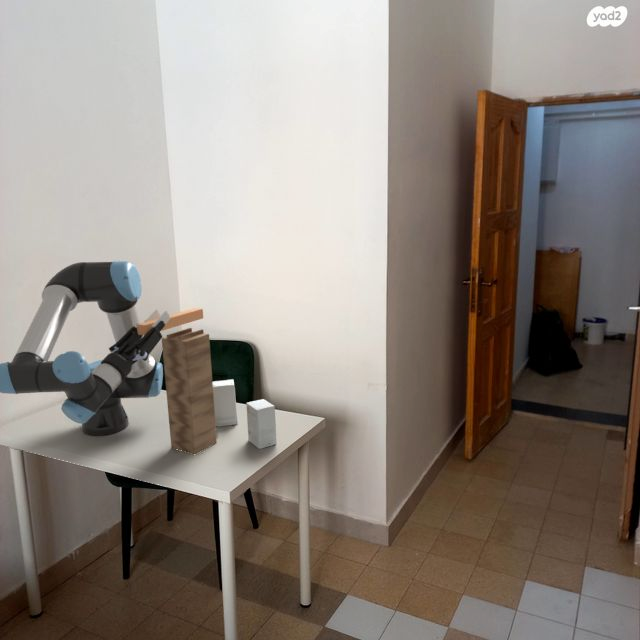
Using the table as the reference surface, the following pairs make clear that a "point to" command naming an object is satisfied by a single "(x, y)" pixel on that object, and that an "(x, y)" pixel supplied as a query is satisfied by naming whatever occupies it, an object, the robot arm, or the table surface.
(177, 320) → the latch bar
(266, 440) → the small box
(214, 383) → the skincare box
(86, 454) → the table surface
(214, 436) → the post
